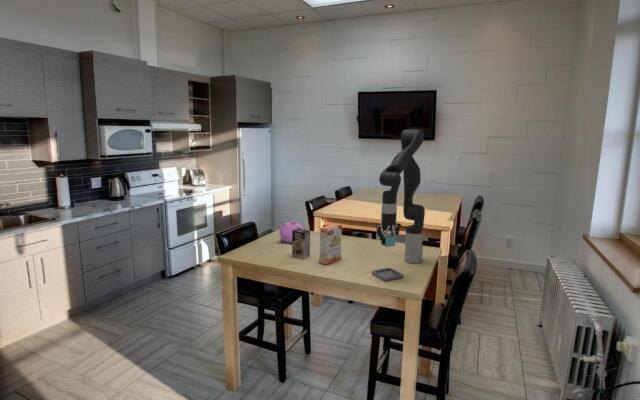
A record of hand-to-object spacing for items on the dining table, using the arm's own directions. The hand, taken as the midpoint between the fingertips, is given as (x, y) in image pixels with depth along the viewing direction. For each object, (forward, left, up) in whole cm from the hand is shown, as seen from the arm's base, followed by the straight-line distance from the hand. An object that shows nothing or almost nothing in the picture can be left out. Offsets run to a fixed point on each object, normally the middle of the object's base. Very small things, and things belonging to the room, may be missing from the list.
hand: (387, 243), depth 198 cm
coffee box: (+28, -48, -17) cm, 58 cm away
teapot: (+22, -80, -17) cm, 84 cm away
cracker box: (+16, -33, -17) cm, 40 cm away
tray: (0, 0, -17) cm, 17 cm away
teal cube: (0, 0, -1) cm, 1 cm away
